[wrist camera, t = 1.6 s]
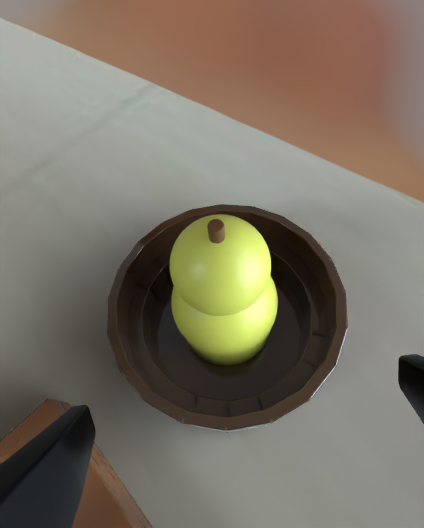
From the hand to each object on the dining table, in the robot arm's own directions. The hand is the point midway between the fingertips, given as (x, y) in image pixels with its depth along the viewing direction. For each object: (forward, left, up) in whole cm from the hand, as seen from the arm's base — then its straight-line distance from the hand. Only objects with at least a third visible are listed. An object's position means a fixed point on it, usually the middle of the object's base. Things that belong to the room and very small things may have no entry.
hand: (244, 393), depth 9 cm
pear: (+5, -4, -12) cm, 14 cm away
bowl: (+5, -4, -12) cm, 14 cm away
